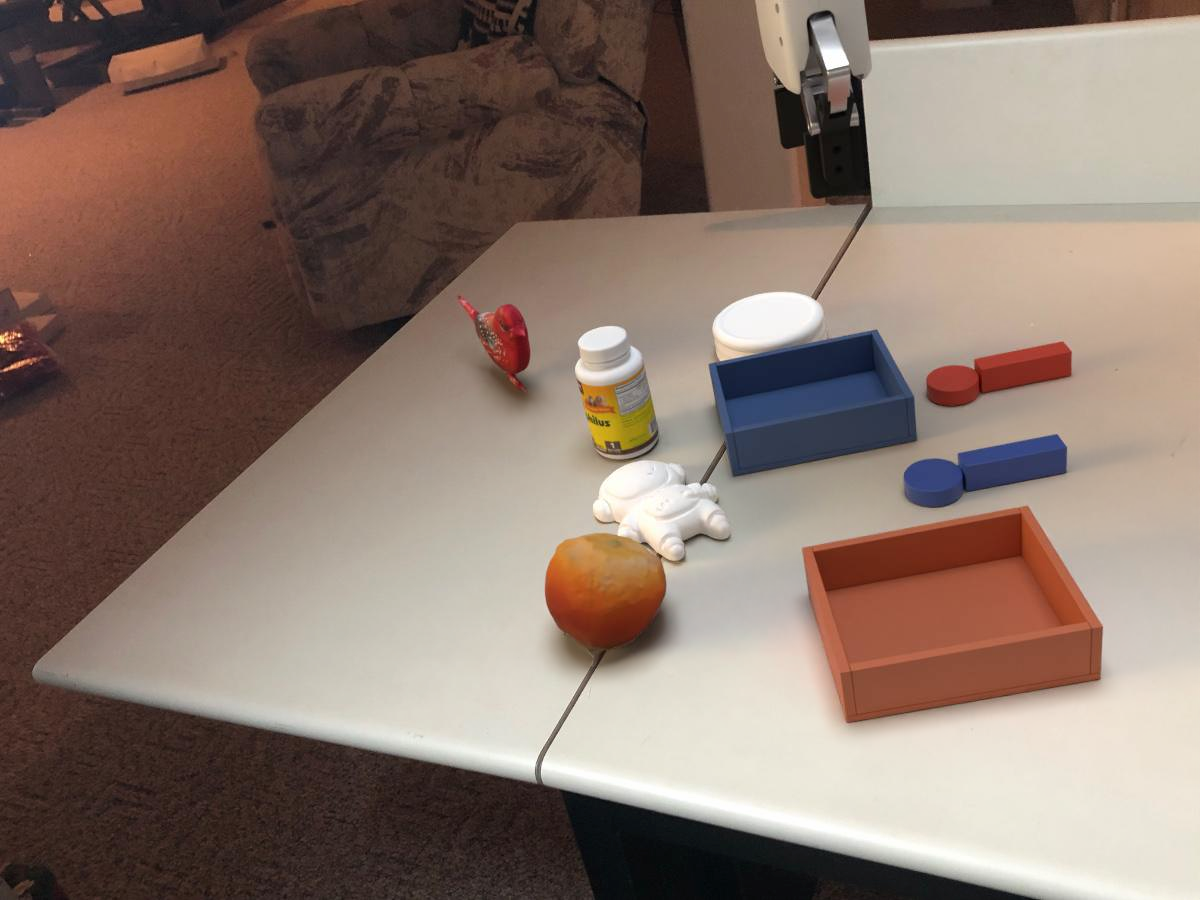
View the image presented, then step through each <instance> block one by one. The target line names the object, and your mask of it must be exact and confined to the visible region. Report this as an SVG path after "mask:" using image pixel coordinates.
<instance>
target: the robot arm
mask: <svg viewBox="0 0 1200 900" xmlns="http://www.w3.org/2000/svg"><path fill="white" fill-rule="evenodd" d="M754 2H755V8H756V9H755V10H756V15H757V22H758V27H759V32H760V38H761V43H762V48H763V52H764V56H765V59H766V62H767V64H768V65H769V67H770V68H771V70H772V75H773V76H772V77H773V81H774V86H775V88H774V89H773V96H774V105H775V112H776V120H777V126H778V134H779V142H780V145H781V146H782V148H783V149H785V150H791V149H795V148H800V147H803V146H804V153H805V159H806V160H805V161H806V168H807V177H808V186H809V193H810V195H811V196H812V198H814V199H816V200H820V199H824V198H828V197H829V198H830V197H834V196H838V195H843V194H846V193H850V192H855V191H860V190H862V189H863V188H864V187H865V185H866V177H865V176H866V175H865V164H864V155H863V143H862V129H861V122H860V118H859V111H858V108H857V101H856V95H855V92H854V90H853V87H852V81H851V75H852V76H853V77H856V78H857V79H858V80H860V81H862V80H865V79H867V78H868V77H869V75H870V74H871V72H872V69H873V64H872V55H871V46H870V37H869V31H868V22H867V13H866V7H865V0H754Z"/></svg>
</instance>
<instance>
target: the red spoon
mask: <svg viewBox="0 0 1200 900" xmlns="http://www.w3.org/2000/svg"><path fill="white" fill-rule="evenodd" d="M1072 354H1073V352H1072V350H1071V349H1070V347H1069V346H1068V345H1067V344H1066V343H1065V342H1064V341H1057V342H1052V343H1047V344H1041V345H1038V346H1037V345H1036V346H1032V347H1027V348H1026V347H1025V348H1022V349H1017V350H1011V351H1007V352H1003V353H1002V352H1001V353H996V354H992V355H986V356H982V357H977V358H974V359H973V364H974V365H973V366H974V367H973V368H974V369H973V368H972V367H969V366H967V365H959V364H958V365H957V364H950V365H943V366H940V367H938V368H935V369H933V370H931V372H929V373H928V374H927V376H926V379H925V381H926V382H925V383H926V384H925V385H926V395H927V398H928V399H929V400H930V401H931V402H932V403H934V404H937V405H941V406H947V407H955V406H961V405H966V404H969V403H971V402H973V401H974V400H976V399H977V397H978V396H979V394H980V392H981V393H982V394H984V393H988V392H993V391H998V390H999V391H1000V390H1003V389H1004V390H1005V389H1009V388H1013V387H1019V386H1023V385H1029V384H1033V383H1039V382H1044V381H1048V380H1049V381H1050V380H1055V379H1059V378H1064V377H1068V376H1072V364H1073V363H1072V362H1073V361H1072V358H1073V356H1072Z"/></svg>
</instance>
